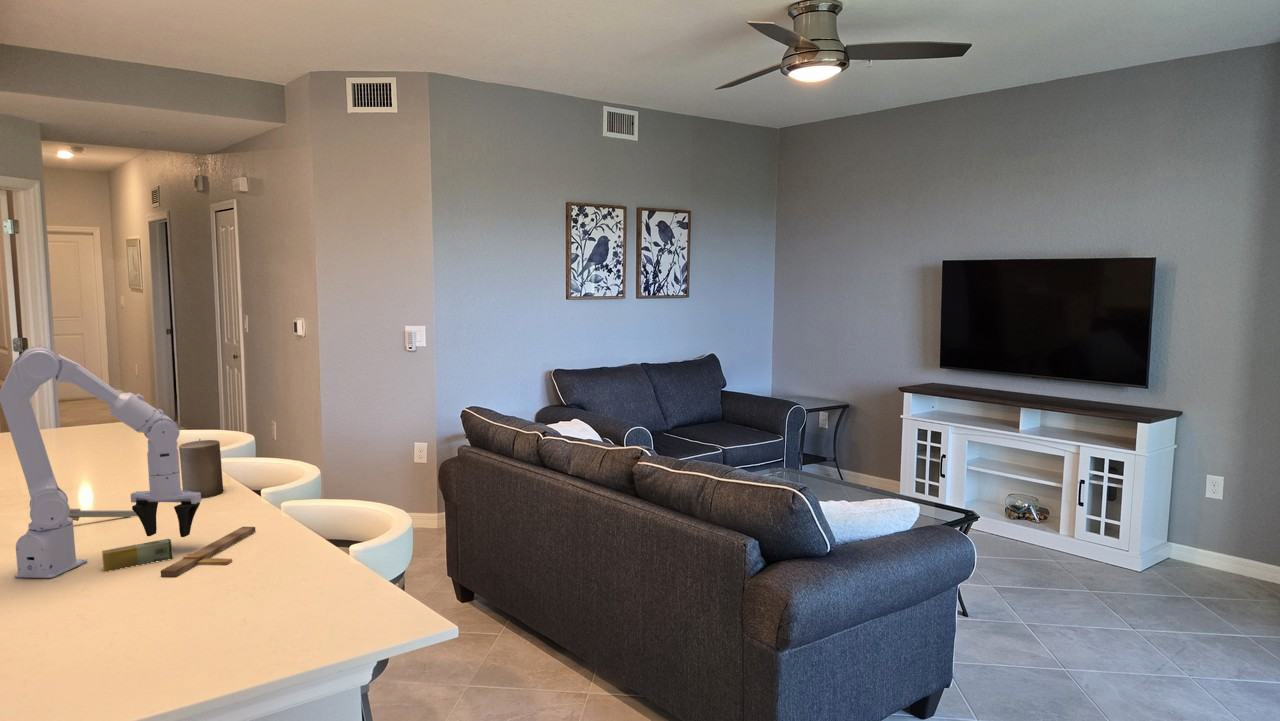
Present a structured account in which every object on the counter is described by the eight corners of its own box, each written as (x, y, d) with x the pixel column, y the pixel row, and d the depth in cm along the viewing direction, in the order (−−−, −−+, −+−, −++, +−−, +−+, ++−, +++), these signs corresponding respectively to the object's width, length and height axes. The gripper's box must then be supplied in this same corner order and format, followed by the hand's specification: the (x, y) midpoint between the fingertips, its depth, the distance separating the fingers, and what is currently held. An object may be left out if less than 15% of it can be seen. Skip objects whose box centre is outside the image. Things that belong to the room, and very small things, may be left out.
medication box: (171, 556, 173) (170, 537, 172) (173, 559, 171) (172, 540, 170) (103, 569, 166) (101, 549, 165) (104, 573, 164) (102, 553, 163)
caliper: (43, 532, 190) (41, 505, 190) (43, 531, 191) (41, 504, 190) (146, 515, 203) (144, 490, 202) (145, 514, 204) (143, 489, 203)
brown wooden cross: (205, 577, 160) (204, 570, 159) (160, 576, 160) (159, 569, 160) (280, 532, 187) (280, 525, 187) (242, 531, 188) (242, 525, 188)
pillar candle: (231, 489, 226) (227, 435, 224) (209, 499, 216) (204, 442, 215) (197, 489, 227) (193, 435, 225) (174, 499, 217) (169, 442, 216)
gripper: (208, 468, 179) (212, 530, 180) (145, 467, 180) (149, 528, 182) (187, 476, 172) (191, 540, 173) (121, 475, 173) (126, 539, 175)
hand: (168, 535), depth 177 cm, fingers open, 7 cm apart
